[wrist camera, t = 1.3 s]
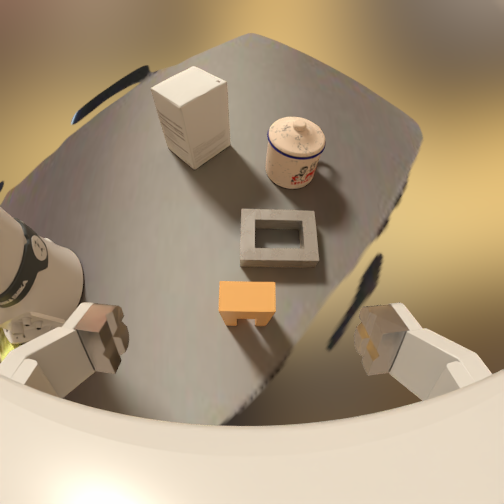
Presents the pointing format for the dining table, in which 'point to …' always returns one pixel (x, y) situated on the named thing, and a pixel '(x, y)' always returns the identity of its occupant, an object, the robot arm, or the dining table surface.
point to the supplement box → (193, 115)
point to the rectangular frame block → (278, 256)
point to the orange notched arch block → (247, 301)
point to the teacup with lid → (293, 151)
